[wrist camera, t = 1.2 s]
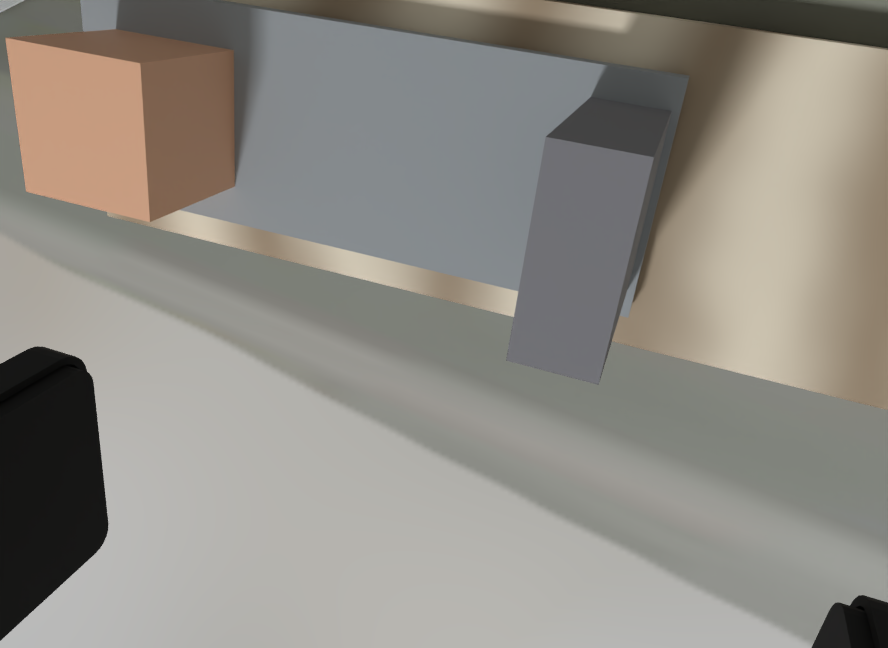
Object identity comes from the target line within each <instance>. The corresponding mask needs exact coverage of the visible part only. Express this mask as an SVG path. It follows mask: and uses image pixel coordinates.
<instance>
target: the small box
mask: <svg viewBox="0 0 888 648" xmlns="http://www.w3.org/2000/svg"><path fill="white" fill-rule="evenodd" d="M22 1H24V0H0V12H2V11H4V10H6V9H8V8H10V7H12V6H14V5H16V4H18V3H20V2H22Z"/></svg>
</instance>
